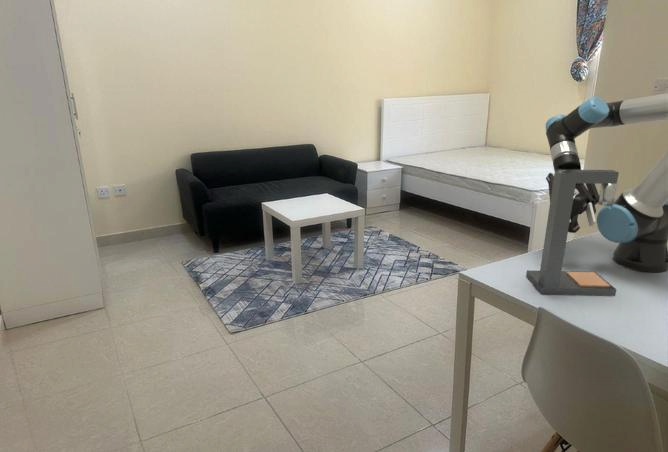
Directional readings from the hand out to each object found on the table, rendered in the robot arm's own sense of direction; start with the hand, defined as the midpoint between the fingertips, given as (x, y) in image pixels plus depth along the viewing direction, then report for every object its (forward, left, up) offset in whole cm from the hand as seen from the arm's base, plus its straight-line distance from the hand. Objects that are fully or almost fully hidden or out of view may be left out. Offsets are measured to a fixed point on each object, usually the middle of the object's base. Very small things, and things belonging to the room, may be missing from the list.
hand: (580, 223), depth 135 cm
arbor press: (+5, +9, -16) cm, 19 cm away
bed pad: (0, +9, -14) cm, 17 cm away
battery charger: (0, -4, -4) cm, 5 cm away
